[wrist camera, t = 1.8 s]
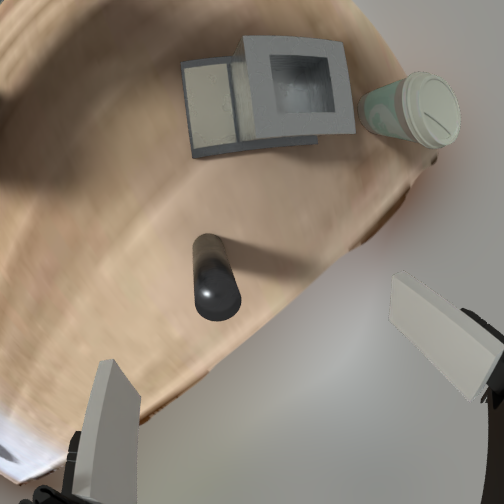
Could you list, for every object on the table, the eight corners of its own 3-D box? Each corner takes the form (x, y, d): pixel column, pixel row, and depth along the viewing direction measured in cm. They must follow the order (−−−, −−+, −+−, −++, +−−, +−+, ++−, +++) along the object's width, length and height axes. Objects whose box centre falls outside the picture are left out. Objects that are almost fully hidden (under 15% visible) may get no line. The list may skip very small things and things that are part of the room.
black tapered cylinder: (195, 265, 32) (200, 325, 21) (189, 236, 30) (190, 286, 20) (225, 259, 32) (244, 316, 21) (220, 231, 31) (237, 277, 20)
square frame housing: (192, 158, 27) (192, 160, 19) (180, 65, 23) (177, 32, 15) (313, 143, 30) (356, 144, 21) (302, 58, 25) (340, 33, 17)
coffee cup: (336, 103, 28) (401, 90, 17) (374, 73, 27) (439, 58, 16) (372, 156, 32) (440, 166, 21) (405, 123, 31) (470, 125, 20)
